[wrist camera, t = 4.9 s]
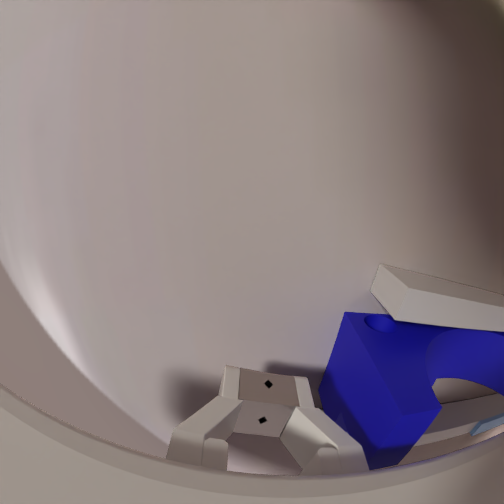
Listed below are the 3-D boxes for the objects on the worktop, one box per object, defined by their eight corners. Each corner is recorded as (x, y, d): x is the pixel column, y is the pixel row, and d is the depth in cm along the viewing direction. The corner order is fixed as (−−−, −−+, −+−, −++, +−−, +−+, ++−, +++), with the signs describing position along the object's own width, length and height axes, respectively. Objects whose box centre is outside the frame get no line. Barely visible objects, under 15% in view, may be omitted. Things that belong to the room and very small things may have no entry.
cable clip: (317, 387, 12) (343, 489, 7) (343, 309, 11) (402, 415, 5) (475, 372, 13) (519, 426, 7) (503, 314, 12) (560, 362, 6)
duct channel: (384, 249, 10) (438, 288, 7) (565, 305, 12) (589, 322, 8) (303, 428, 13) (312, 483, 10) (514, 399, 15) (531, 421, 11)
